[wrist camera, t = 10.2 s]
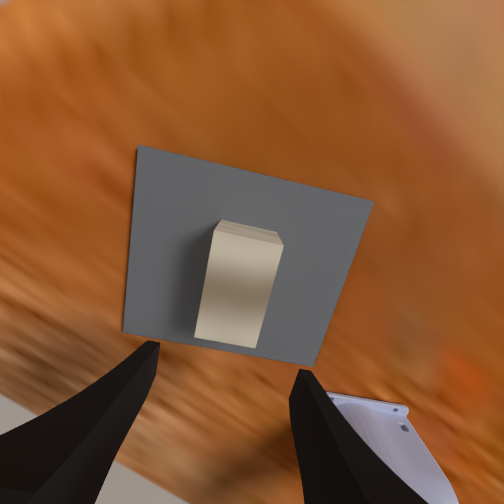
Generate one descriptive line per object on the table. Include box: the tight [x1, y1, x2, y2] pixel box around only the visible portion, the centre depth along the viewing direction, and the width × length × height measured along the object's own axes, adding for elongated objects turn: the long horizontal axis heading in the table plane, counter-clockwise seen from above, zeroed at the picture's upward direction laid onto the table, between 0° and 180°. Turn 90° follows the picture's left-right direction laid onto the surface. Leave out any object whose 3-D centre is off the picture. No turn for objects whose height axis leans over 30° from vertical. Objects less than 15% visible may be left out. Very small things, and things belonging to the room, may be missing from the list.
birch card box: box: [194, 220, 284, 348], centre depth 18 cm, size 8×4×4 cm, turn 167°
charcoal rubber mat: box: [123, 145, 374, 367], centre depth 20 cm, size 18×16×1 cm
